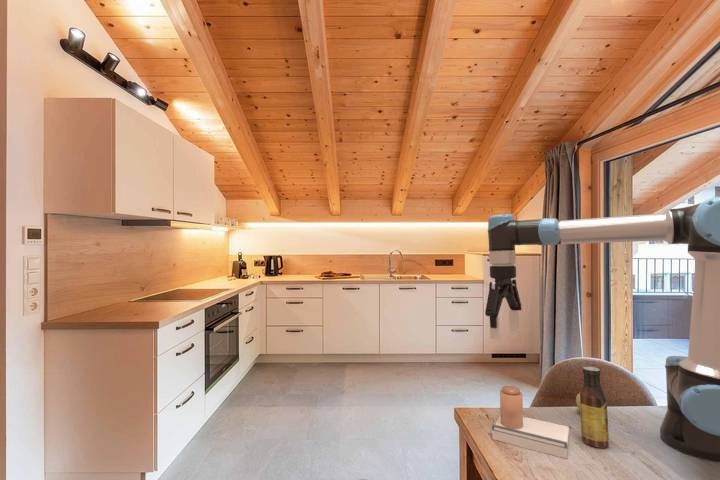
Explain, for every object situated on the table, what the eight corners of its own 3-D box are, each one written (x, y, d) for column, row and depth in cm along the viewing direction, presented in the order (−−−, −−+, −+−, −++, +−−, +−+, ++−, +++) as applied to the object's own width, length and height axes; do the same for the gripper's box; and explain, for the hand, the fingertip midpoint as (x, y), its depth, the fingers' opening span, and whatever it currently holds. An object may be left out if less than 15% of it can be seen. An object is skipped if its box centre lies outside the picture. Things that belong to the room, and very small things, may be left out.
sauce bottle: (613, 450, 93) (611, 373, 93) (587, 448, 94) (584, 372, 95) (601, 437, 99) (599, 365, 100) (577, 435, 100) (575, 364, 101)
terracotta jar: (524, 422, 103) (523, 387, 104) (521, 431, 98) (520, 394, 98) (502, 417, 106) (502, 383, 107) (498, 425, 101) (497, 390, 102)
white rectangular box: (569, 435, 100) (568, 422, 100) (567, 459, 89) (566, 444, 89) (501, 420, 110) (501, 408, 110) (492, 439, 99) (492, 425, 99)
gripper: (507, 263, 121) (510, 326, 120) (471, 266, 103) (473, 340, 102) (530, 263, 115) (533, 329, 114) (496, 267, 98) (499, 344, 97)
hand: (505, 334), depth 108 cm, fingers open, 13 cm apart
